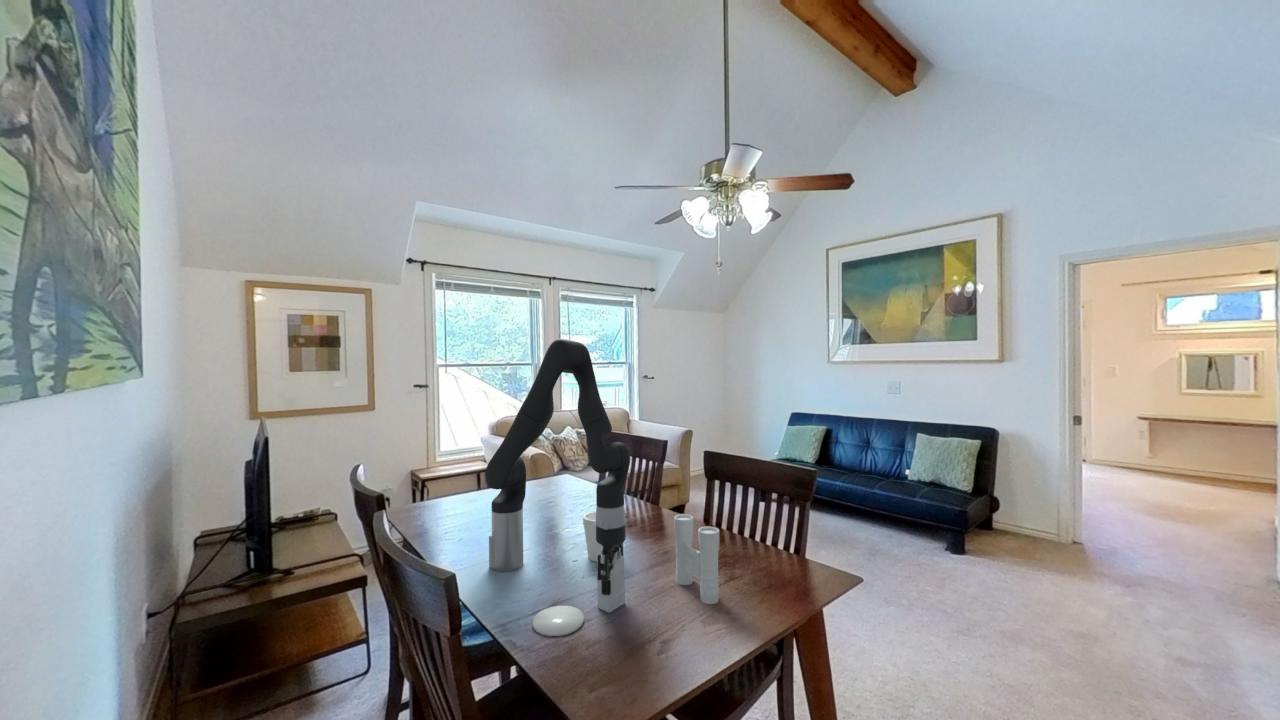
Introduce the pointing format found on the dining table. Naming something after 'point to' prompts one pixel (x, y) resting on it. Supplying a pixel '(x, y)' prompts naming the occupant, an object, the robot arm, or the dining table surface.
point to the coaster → (558, 620)
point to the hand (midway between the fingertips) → (611, 586)
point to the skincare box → (613, 588)
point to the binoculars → (697, 557)
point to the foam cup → (591, 536)
